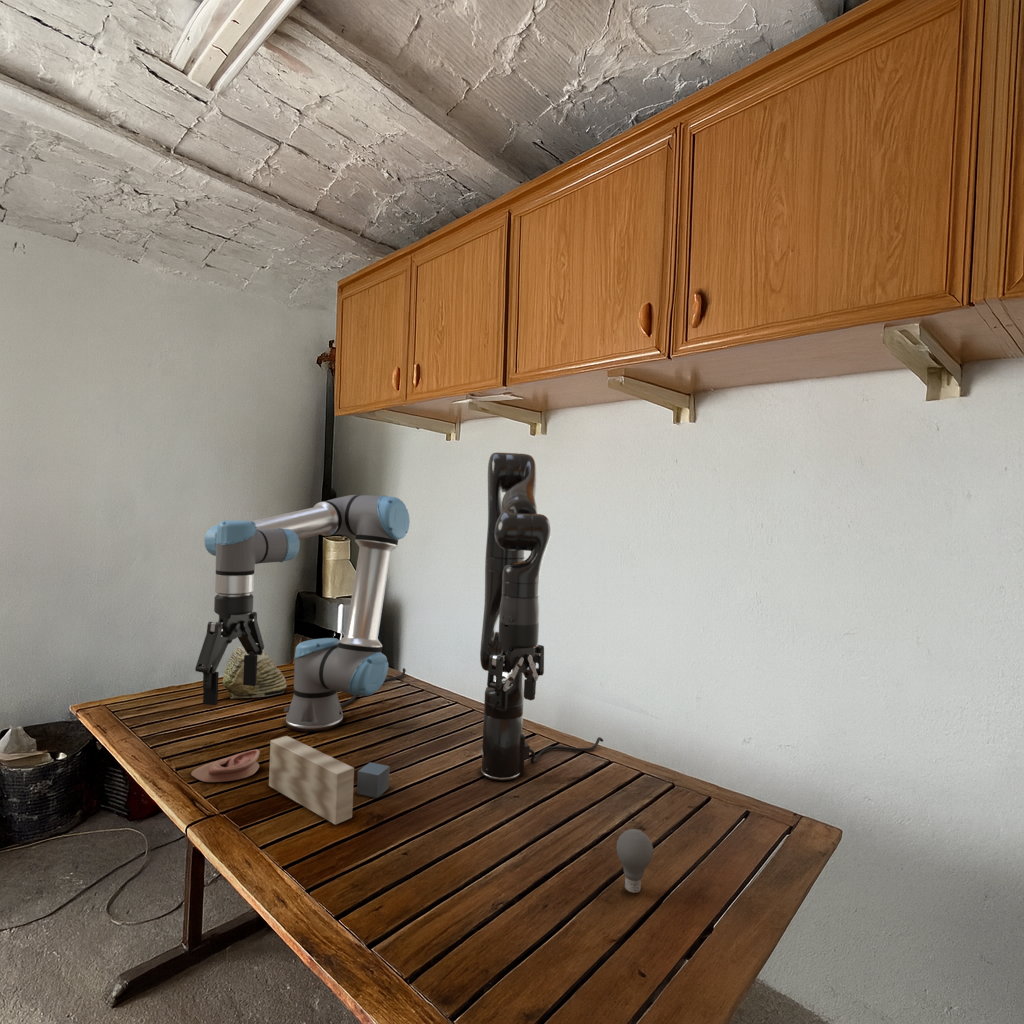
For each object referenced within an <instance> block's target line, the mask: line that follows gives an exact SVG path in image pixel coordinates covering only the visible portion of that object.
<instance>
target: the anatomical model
mask: <svg viewBox="0 0 1024 1024" xmlns="http://www.w3.org/2000/svg"><path fill="white" fill-rule="evenodd" d="M260 754H261V752H260V749H257V748H256V749H251V750H247V751H243V752H240V753H236V754H234V755H231V756H228V757H225V758H222V759H219V760H216V761H211V762H209V763H206V764H204V765H201V766H198V767H197V768H195V769H193V770H192V771H191V773H190V775H191V776H192V777H193V778H194V779H196V780H198V781H201V782H203V783H221V782H230V781H231V782H233V781H237V780H241V779H246V778H248V777H250V776H253V775H254V774H256V772H257V771H258V770H259V768H260V764H259V762H258V759H259V757H260Z"/></svg>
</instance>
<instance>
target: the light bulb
mask: <svg viewBox="0 0 1024 1024" xmlns="http://www.w3.org/2000/svg"><path fill="white" fill-rule="evenodd" d="M615 849H616V854H617V857H618V859H619V861H620V863H621V865H622V867H623V873H624V874H623V875H624V876H625V878H624V888H625V890H627V891H628V892H630V893H634V894H635V893H639V892H640V891H641V889H642V887H641V886H642V879H643V877H644V875H645V871H646V868H647V867H648V866H649V864H650V863H651V861H652V859H653V855H654V847H653V843H652V841H651V838H649V836H648V835H647V834H646V833H645V832H643V831H642V830H641V829H636V828H629V829H627V830H625V831H623V832H622V833H621V834H620V835H619V837H618V839H617V841H616V847H615Z"/></svg>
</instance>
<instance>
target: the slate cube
mask: <svg viewBox="0 0 1024 1024" xmlns="http://www.w3.org/2000/svg"><path fill="white" fill-rule="evenodd" d="M390 769H391V766H390V765H386V764H381V763H376V762H371V761H370V762H368V763H367V764H365V765H363V766H362V767H361V768H360V769H359V770H357V779H356V780H357V781H356V794H357V795H361V796H366V797H370V798H375V799H378V798H380V796H382V795H383V794H384V793H385V792H387V791H388V790H389V789H390V771H391V770H390Z"/></svg>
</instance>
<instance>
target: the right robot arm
mask: <svg viewBox="0 0 1024 1024" xmlns="http://www.w3.org/2000/svg"><path fill="white" fill-rule="evenodd" d="M536 492H537V465H536V461H535V459H534V457H533V456H532V455H530V454H527V453H519V452H518V453H517V452H493V453H491V454H490V456H489V458H488V465H487V532H486V545H485V558H484V559H485V561H484V607H483V616H482V617H483V618H482V629H481V637H480V638H481V639H480V651H479V660H480V667H481V668H482V670H483V671H486V672H487V682H486V688H485V690H484V702H483V703H484V704H483V724H482V725H483V727H482V747H480V752H481V767H480V774H481V775H482V776H483V777H485V778H486V779H488V780H493V781H499V782H506V781H512V780H515V779H518V778H519V777H522V776H524V774H525V760H530V762H531V763H533V764H534V763H535V762H536V760H537V759H538V758H539V757H540V756H542V755H543V754H544V753H545V752H548V751H552V750H562V751H563V750H566V751H574V752H590V751H593V750H595V749H596V748H597V747H598V745H599V744H600V742H604V739H603V738H602V737H601V736H600V737H597V738H596V740H595V743H594V744H593V745H592V746H590V747H572V746H563V745H553V746H547V747H545V748H543V749H541V750H540V751H539V752H538V753H537V754H536V752H535V750H534V749H532V748H531V747H530V744H528V743H527V742H526V735H525V733H524V732H523V720H524V700H528V701H534V700H535V699H536V693H537V691H536V690H537V681H538V679H539V677H541V676H543V675H544V673H545V646H544V645H541V644H539V635H540V634H539V633H540V613H541V612H540V610H541V609H540V581H541V571H542V565H543V562H544V558H545V555H546V553H547V549H548V546H549V544H550V540H551V537H552V524H551V521H550V519H549V518H548V517H547V516H546V515H545V514H540V513H538V512H539V511H538V506H537V502H536ZM502 493H504V495H503V497H502ZM526 552H530V554H529V556H528V557H527V558H526ZM497 623H498V631H497V630H496V627H497ZM537 664H538V667H537ZM494 679H495V680H494ZM530 753H531V757H530Z"/></svg>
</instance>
